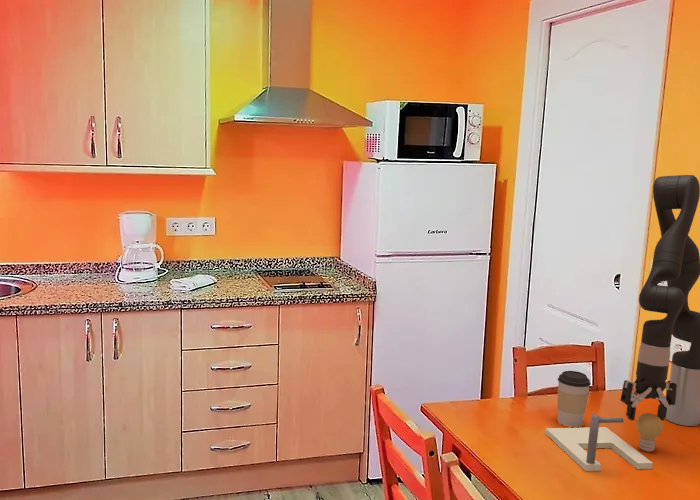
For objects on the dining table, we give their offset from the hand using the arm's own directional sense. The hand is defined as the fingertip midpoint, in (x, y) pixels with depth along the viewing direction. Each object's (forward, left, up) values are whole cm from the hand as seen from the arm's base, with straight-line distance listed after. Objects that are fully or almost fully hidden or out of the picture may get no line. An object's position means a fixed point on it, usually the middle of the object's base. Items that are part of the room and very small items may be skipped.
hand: (645, 419), depth 180 cm
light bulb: (-1, +1, -9) cm, 9 cm away
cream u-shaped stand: (+13, 0, -8) cm, 16 cm away
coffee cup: (+12, -18, -8) cm, 23 cm away
